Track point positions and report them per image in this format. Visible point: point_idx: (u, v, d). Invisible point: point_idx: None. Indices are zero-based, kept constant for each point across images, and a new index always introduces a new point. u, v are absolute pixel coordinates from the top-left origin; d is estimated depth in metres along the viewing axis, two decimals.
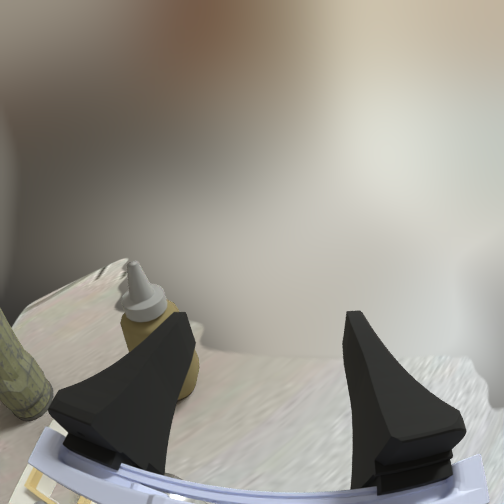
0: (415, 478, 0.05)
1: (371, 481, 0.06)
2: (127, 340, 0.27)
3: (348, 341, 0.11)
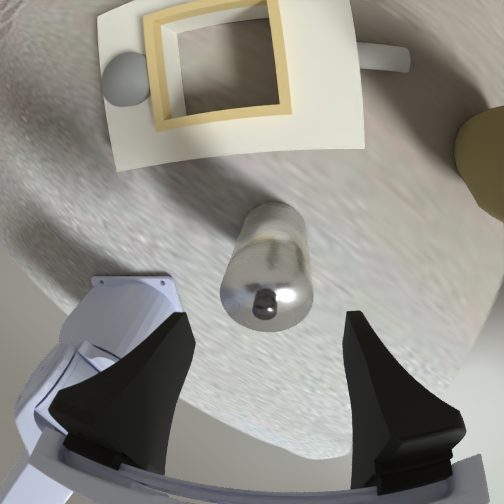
0: (415, 478, 0.05)
1: (371, 481, 0.06)
2: None
3: (348, 341, 0.11)
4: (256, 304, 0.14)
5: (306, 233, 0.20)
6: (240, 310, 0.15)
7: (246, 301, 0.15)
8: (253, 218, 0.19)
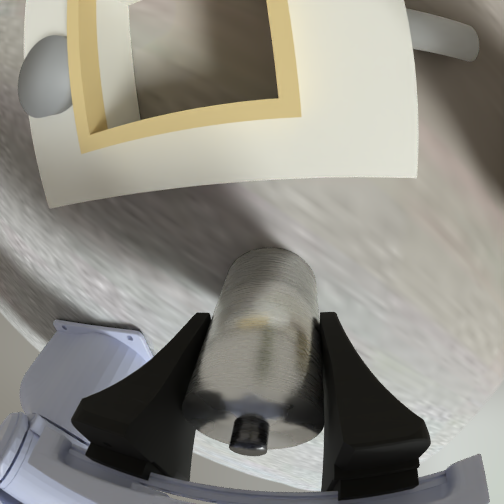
0: (377, 486, 0.05)
1: (335, 485, 0.06)
2: None
3: (321, 342, 0.11)
4: (235, 444, 0.07)
5: (316, 296, 0.13)
6: (215, 430, 0.09)
7: (222, 424, 0.09)
8: (238, 279, 0.12)
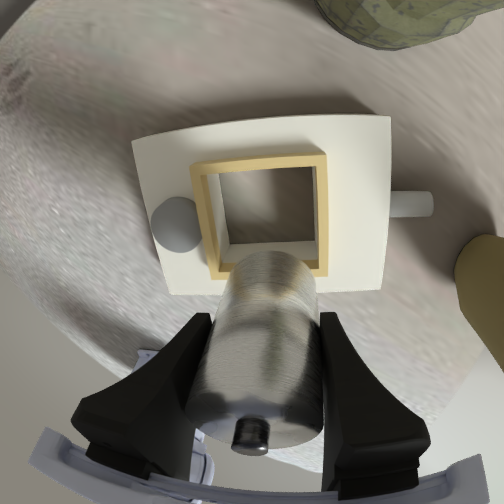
0: (377, 486, 0.05)
1: (335, 485, 0.06)
2: None
3: (321, 342, 0.11)
4: (236, 444, 0.08)
5: (316, 297, 0.13)
6: (218, 431, 0.09)
7: (225, 425, 0.09)
8: (237, 283, 0.13)
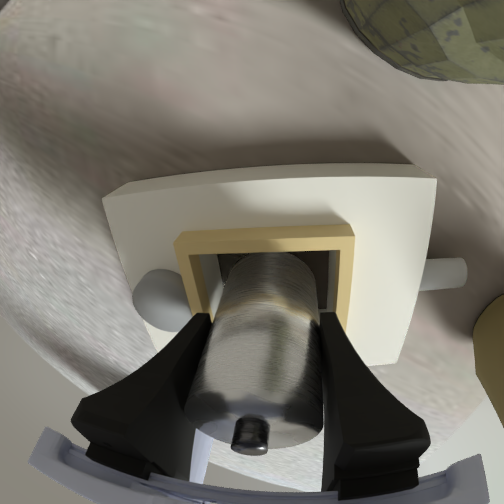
0: (377, 486, 0.05)
1: (335, 485, 0.06)
2: None
3: (321, 342, 0.11)
4: (236, 444, 0.08)
5: (316, 296, 0.13)
6: (218, 431, 0.09)
7: (224, 425, 0.09)
8: (237, 283, 0.13)
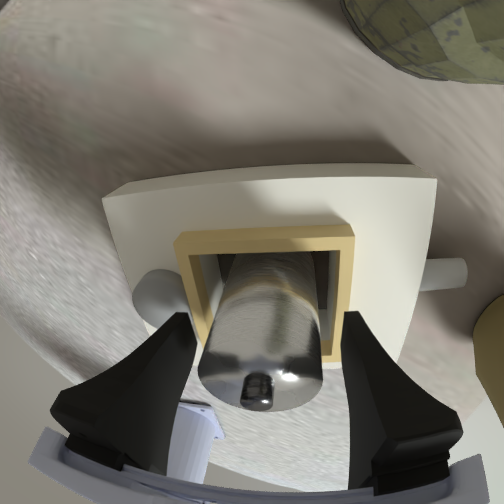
0: (411, 479, 0.05)
1: (367, 482, 0.06)
2: None
3: (346, 341, 0.11)
4: (244, 397, 0.09)
5: (314, 274, 0.15)
6: (227, 392, 0.11)
7: (233, 384, 0.10)
8: (244, 260, 0.14)
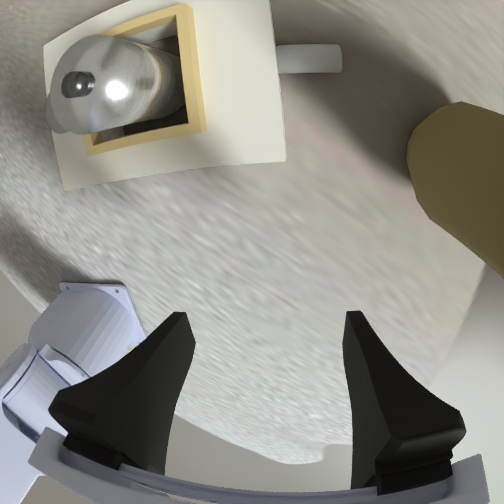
0: (414, 478, 0.05)
1: (371, 481, 0.06)
2: None
3: (348, 341, 0.11)
4: (63, 79, 0.08)
5: (180, 66, 0.14)
6: (65, 110, 0.10)
7: None
8: None
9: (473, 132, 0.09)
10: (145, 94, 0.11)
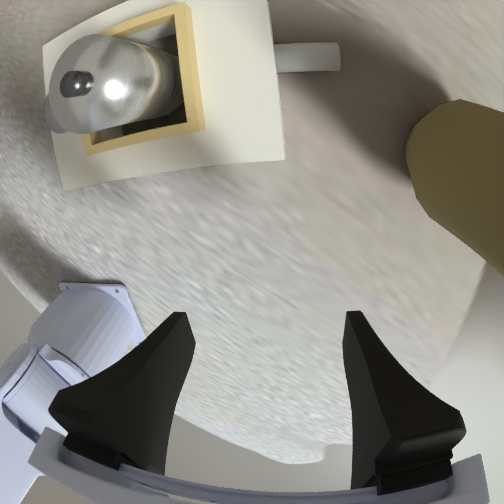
0: (415, 478, 0.05)
1: (371, 481, 0.06)
2: None
3: (348, 341, 0.11)
4: (62, 78, 0.08)
5: (179, 66, 0.14)
6: (64, 109, 0.10)
7: None
8: None
9: (472, 129, 0.08)
10: (143, 93, 0.11)
